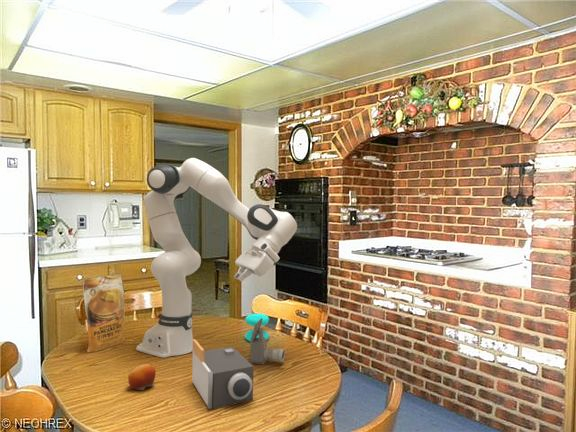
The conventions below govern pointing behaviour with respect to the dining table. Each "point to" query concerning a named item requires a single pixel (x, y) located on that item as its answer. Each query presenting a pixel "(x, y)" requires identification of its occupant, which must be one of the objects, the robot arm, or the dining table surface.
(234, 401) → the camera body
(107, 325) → the pancake mix bag
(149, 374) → the fruit
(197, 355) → the side door
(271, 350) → the camera
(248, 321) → the turquoise spool
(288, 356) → the dining table surface
